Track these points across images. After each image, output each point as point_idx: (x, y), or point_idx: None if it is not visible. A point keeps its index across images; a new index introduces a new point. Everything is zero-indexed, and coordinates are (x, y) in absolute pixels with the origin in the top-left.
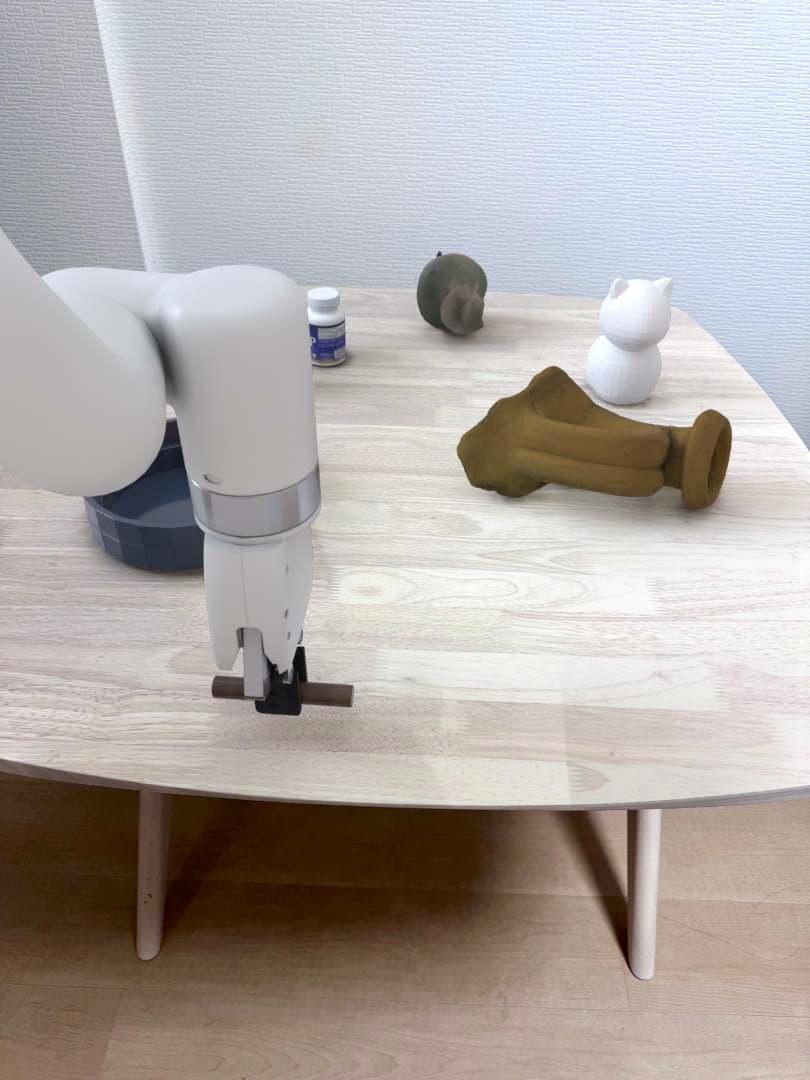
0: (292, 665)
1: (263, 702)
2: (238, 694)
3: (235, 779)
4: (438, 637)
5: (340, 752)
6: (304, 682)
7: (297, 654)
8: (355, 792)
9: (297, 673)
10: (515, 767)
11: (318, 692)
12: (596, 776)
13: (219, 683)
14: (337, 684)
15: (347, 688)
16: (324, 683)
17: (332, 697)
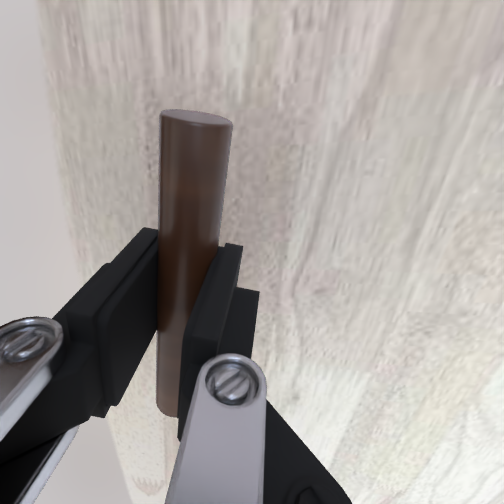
0: (63, 450)
1: (91, 280)
2: (158, 196)
3: (74, 149)
4: (372, 436)
5: None
6: None
7: (178, 416)
8: None
9: (97, 416)
10: (154, 452)
11: (161, 368)
12: (151, 491)
13: (170, 145)
14: None
15: (170, 412)
16: None
17: (157, 382)
